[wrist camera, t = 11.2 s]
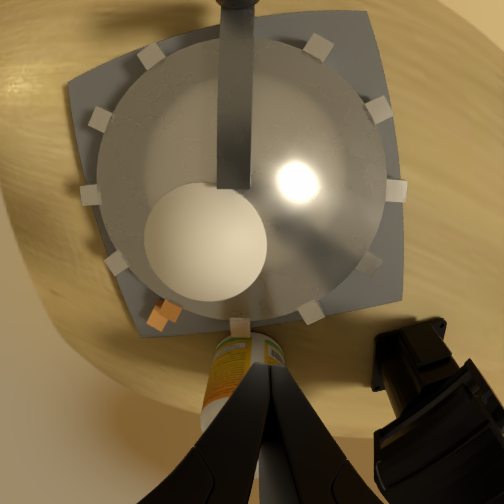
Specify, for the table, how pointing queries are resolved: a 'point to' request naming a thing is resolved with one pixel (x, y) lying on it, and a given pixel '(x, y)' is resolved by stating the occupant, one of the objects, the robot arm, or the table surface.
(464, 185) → the table surface
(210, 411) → the supplement bottle
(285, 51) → the sprocket
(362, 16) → the sprocket base
